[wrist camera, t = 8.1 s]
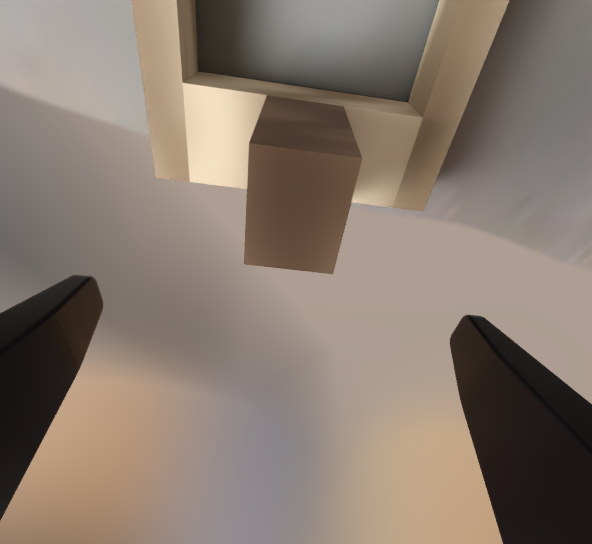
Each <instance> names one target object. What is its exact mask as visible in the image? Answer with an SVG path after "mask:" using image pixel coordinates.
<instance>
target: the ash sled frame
mask: <svg viewBox="0 0 592 544" xmlns="http://www.w3.org/2000/svg"><path fill="white" fill-rule="evenodd" d="M508 3H509V0H439V3H438V7H437V10H436V13H435V16H434V20H433V23H432V26H431V29H430V33H429V36H428V39H427V42H426V46H425V49H424V52H423V55H422V59H421V62H420V65H419V68H418V72H417V75H416V78H415V81H414V85H413V88H412V91H411V94H410V98H409V101H408V102H402V101H395V100H388V99H381V98H375V97H368V96H361V95H354V94H347V93H341V92H334V91H327V90H320V89H314V88H307V87H300V86H293V85H286V84H280V83H273V82H266V81H259V80H252V79H246V78H239V77H232V76H225V75H219V74H212V73H205V72H198V50H197V28H196V7H195V0H132V8H133V15H134V22H135V30H136V37H137V44H138V51H139V59H140V66H141V73H142V80H143V88H144V95H145V102H146V109H147V117H148V124H149V131H150V138H151V146H152V153H153V160H154V167H155V175H156V177H157V178H163V179H171V180H180V181H187V182H195V183H203V184H211V185H220V186H227V187H235V188H243V189H247V206H246V230H245V255H244V264H247V265H256V266H265V267H275V268H283V269H292V270H301V271H311V272H319V273H328V274H333V272H334V268H335V264H336V260H337V256H338V252H339V248H340V244H341V240H342V236H343V233H344V229H345V225H346V221H347V217H348V213H349V209H350V205H351V202H354V203H362V204H370V205H378V206H385V207H393V208H401V209H409V210H417V211H424V208H425V206H426V203H427V201H428V198H429V196H430V193H431V191H432V189H433V186H434V184H435V181H436V179H437V176H438V174H439V171H440V169H441V167H442V164H443V162H444V159H445V157H446V154H447V152H448V149H449V147H450V145H451V142H452V140H453V137H454V135H455V132H456V130H457V127H458V125H459V123H460V120H461V118H462V115H463V113H464V110H465V108H466V105H467V103H468V101H469V98H470V96H471V93H472V91H473V88H474V86H475V83H476V81H477V79H478V76H479V74H480V71H481V69H482V66H483V64H484V61H485V59H486V57H487V54H488V52H489V49H490V47H491V44H492V42H493V39H494V37H495V35H496V32H497V30H498V27H499V25H500V22H501V20H502V17H503V15H504V13H505V10H506V8H507V5H508Z"/></svg>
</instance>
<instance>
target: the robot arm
mask: <svg viewBox="0 0 592 544" xmlns="http://www.w3.org/2000/svg"><path fill="white" fill-rule="evenodd" d="M102 309H103V300H102V297H101V293H100V290H99V287H98V284H97V281H96V279H95V278H94V277H92V276H86V275H73V276H70V277H68V278H67V279H65V280H63V281H61V282H59V283H57V284H55V285H53V286H52V287H49V288H47V289H46V290H44V291H42V292H40V293H38V294H36V295H34V296H32V297H30V298H29V299H27V300H25V301H23V302H21V303H19V304H17V305H15V306H13V307H11V308H9V309H7V310H6V311H4V312H2V313H0V520H1V518H2V516H3V515H4V513H5V511H6V509H7V507H8V505H9V503H10V501H11V499H12V497H13V495H14V494H15V491H16V490H17V488H18V486H19V484H20V482H21V480H22V478H23V476H24V474H25V473H26V471H27V469H28V467H29V465H30V463H31V461H32V459H33V457H34V455H35V453H36V452H37V450H38V448H39V446H40V444H41V442H42V440H43V438H44V436H45V434H46V432H47V431H48V428H49V427H50V425H51V423H52V421H53V419H54V417H55V415H56V413H57V411H58V409H59V408H60V406H61V404H62V402H63V400H64V398H65V396H66V394H67V392H68V390H69V388H70V387H71V385H72V383H73V381H74V379H75V377H76V375H77V373H78V371H79V369H80V367H81V364H82V362H83V360H84V357H85V354H86V352H87V349H88V346H89V344H90V341H91V339H92V336H93V334H94V331H95V328H96V326H97V323H98V320H99V318H100V315H101V313H102ZM450 347H451V353H452V358H453V364H454V369H455V375H456V380H457V385H458V391H459V395H460V400H461V404H462V408H463V411H464V414H465V418H466V421H467V424H468V428H469V431H470V434H471V438H472V441H473V444H474V448H475V451H476V455H477V458H478V461H479V465H480V468H481V471H482V475H483V478H484V481H485V485H486V488H487V491H488V494H489V498H490V501H491V505H492V508H493V511H494V514H495V518H496V521H497V525H498V528H499V531H500V535H501V538H502V541H503V544H592V404H591V403H589V402H588V401H587V400H586V399H584V398H583V397H582V396H581V395H579V394H578V393H577V392H576V391H574V390H573V389H572V388H571V387H570V386H568V385H567V384H566V383H564V382H563V381H562V380H561V379H560V378H558V377H557V376H556V375H554V374H553V373H552V372H551V371H550V370H548V369H547V368H546V367H545V366H543V365H542V364H541V363H540V362H538V361H537V360H536V359H535V358H534V357H532V356H531V355H530V354H529V353H527V352H526V351H525V350H524V349H522V348H521V347H520V346H519V345H517V344H516V343H515V342H514V341H512V340H511V339H510V338H509V337H507V336H506V335H505V334H504V333H502V332H501V331H500V330H499V329H498V328H496V327H495V326H494V325H492V324H491V323H490V322H489V321H488V320H486V319H485V318H484V317H481V316H475V315H465V316H464V317H463V318H462V319H461V321H460V322H459V324H458V326H457V327H456V328H455V330H454V332H453V333H452V335H451V338H450Z"/></svg>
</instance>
